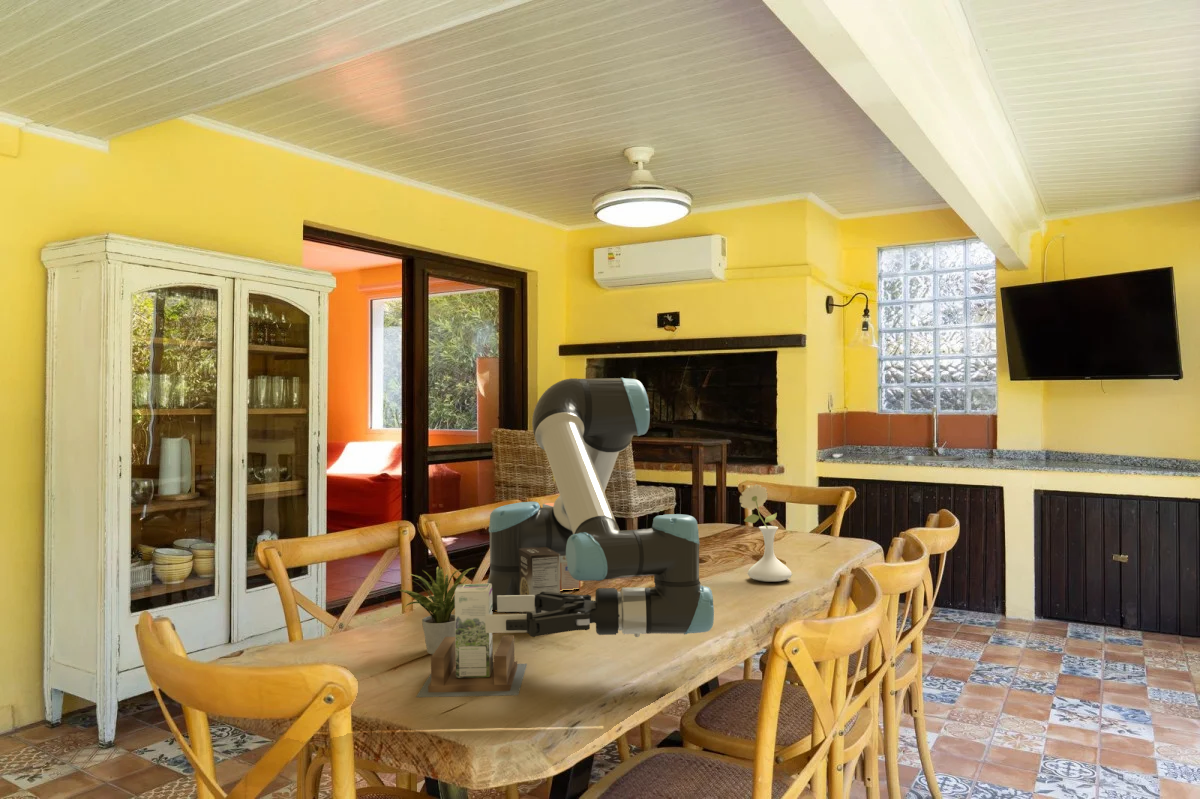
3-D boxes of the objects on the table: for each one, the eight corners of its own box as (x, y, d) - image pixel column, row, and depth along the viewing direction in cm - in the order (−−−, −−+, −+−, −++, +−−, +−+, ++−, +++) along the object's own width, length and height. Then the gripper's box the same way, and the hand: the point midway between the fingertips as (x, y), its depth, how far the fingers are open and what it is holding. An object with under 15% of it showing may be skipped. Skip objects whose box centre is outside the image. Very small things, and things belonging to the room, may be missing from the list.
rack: (517, 667, 141) (516, 635, 141) (510, 690, 129) (509, 656, 129) (442, 668, 141) (442, 636, 141) (428, 692, 129) (427, 657, 129)
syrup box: (493, 667, 138) (492, 581, 138) (490, 678, 132) (488, 589, 133) (460, 668, 138) (458, 582, 138) (455, 679, 132) (453, 590, 132)
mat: (527, 665, 143) (527, 663, 143) (518, 696, 127) (518, 694, 127) (436, 667, 143) (436, 665, 143) (416, 698, 127) (416, 696, 127)
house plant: (450, 635, 163) (448, 554, 164) (497, 647, 155) (496, 561, 155) (391, 652, 152) (389, 565, 153) (438, 666, 144) (437, 573, 144)
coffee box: (518, 625, 171) (517, 548, 171) (548, 621, 173) (546, 545, 173) (530, 635, 162) (529, 554, 163) (561, 632, 165) (560, 552, 165)
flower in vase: (789, 576, 216) (787, 482, 217) (795, 585, 205) (792, 485, 205) (739, 576, 217) (737, 482, 218) (742, 585, 206) (740, 486, 206)
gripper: (621, 656, 122) (480, 658, 123) (618, 615, 147) (502, 617, 148) (620, 606, 123) (479, 608, 123) (617, 573, 147) (501, 575, 148)
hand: (491, 613), depth 135 cm, fingers open, 13 cm apart
